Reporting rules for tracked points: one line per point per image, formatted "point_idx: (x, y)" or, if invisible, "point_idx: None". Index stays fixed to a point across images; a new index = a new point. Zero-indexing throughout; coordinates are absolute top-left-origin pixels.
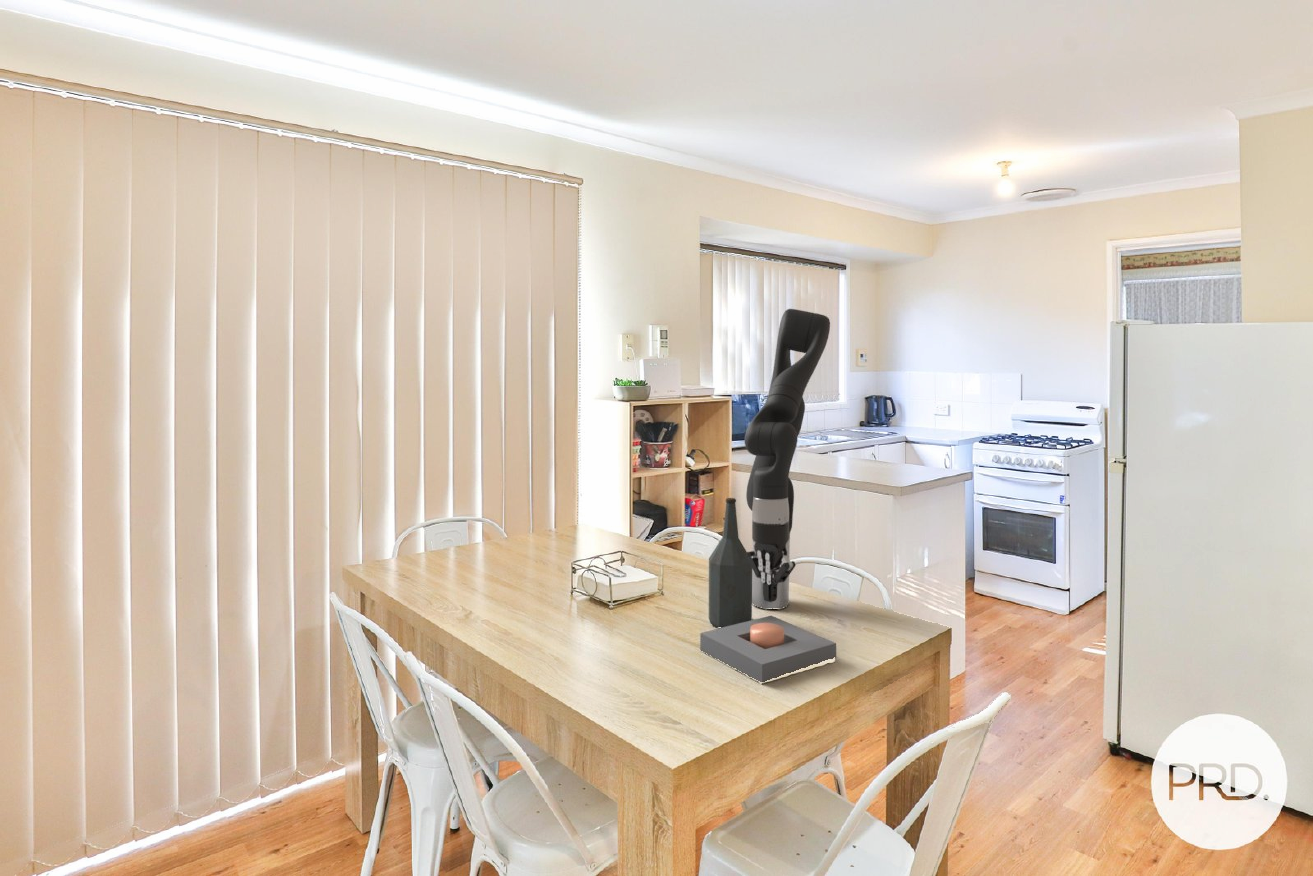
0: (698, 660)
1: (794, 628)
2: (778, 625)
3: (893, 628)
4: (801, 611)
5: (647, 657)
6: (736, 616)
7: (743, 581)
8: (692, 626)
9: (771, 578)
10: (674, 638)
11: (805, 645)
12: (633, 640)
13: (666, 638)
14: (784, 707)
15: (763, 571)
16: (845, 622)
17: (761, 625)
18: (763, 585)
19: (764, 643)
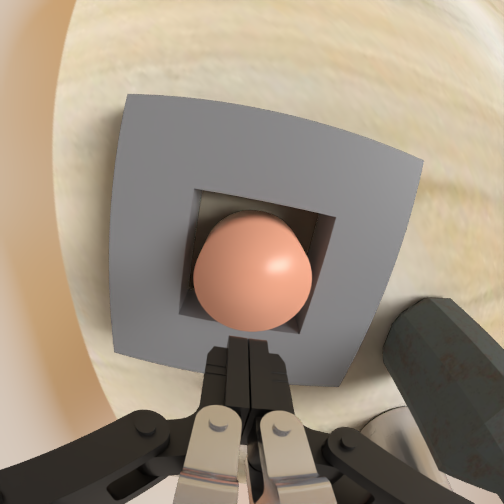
0: (363, 105)
1: None
2: (244, 327)
3: None
4: None
5: (440, 60)
6: (409, 335)
7: (437, 412)
8: (469, 266)
9: (188, 447)
10: (468, 185)
11: (140, 297)
12: (500, 126)
13: (477, 174)
14: (63, 74)
15: (274, 485)
16: None
17: (286, 292)
18: (287, 402)
19: (225, 224)
